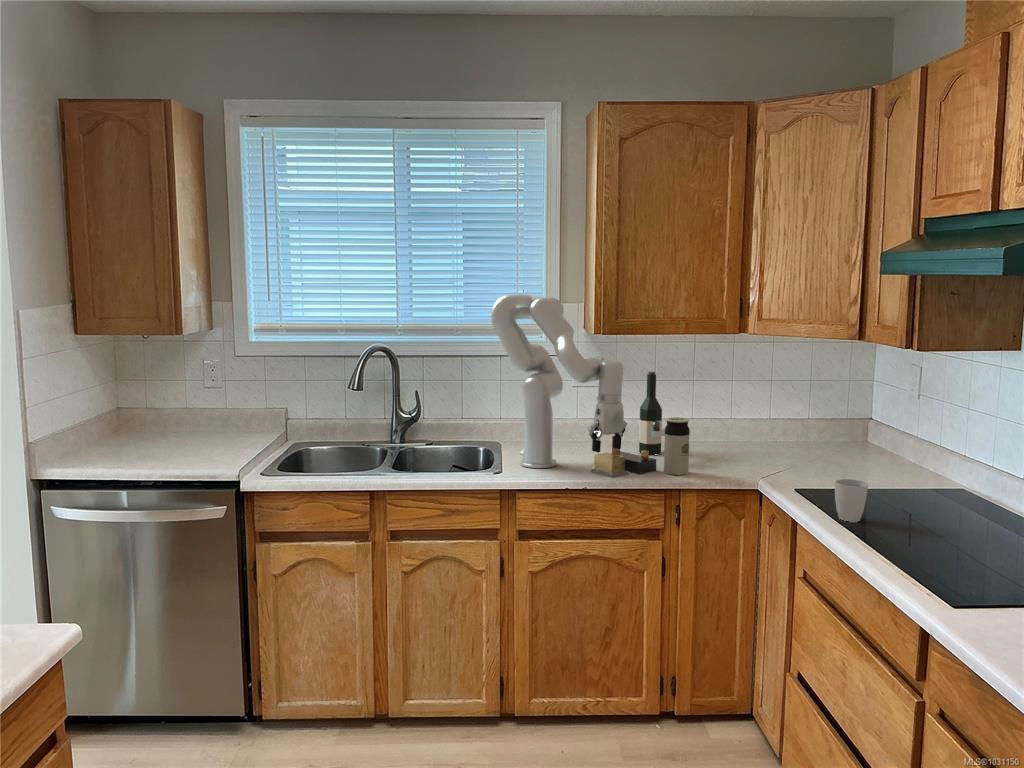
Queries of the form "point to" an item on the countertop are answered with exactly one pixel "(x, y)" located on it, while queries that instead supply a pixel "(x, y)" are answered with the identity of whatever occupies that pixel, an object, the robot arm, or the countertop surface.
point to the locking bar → (657, 430)
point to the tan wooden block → (609, 463)
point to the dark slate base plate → (637, 461)
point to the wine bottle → (650, 418)
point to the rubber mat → (609, 473)
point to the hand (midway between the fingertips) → (606, 449)
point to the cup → (850, 499)
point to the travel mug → (676, 446)
